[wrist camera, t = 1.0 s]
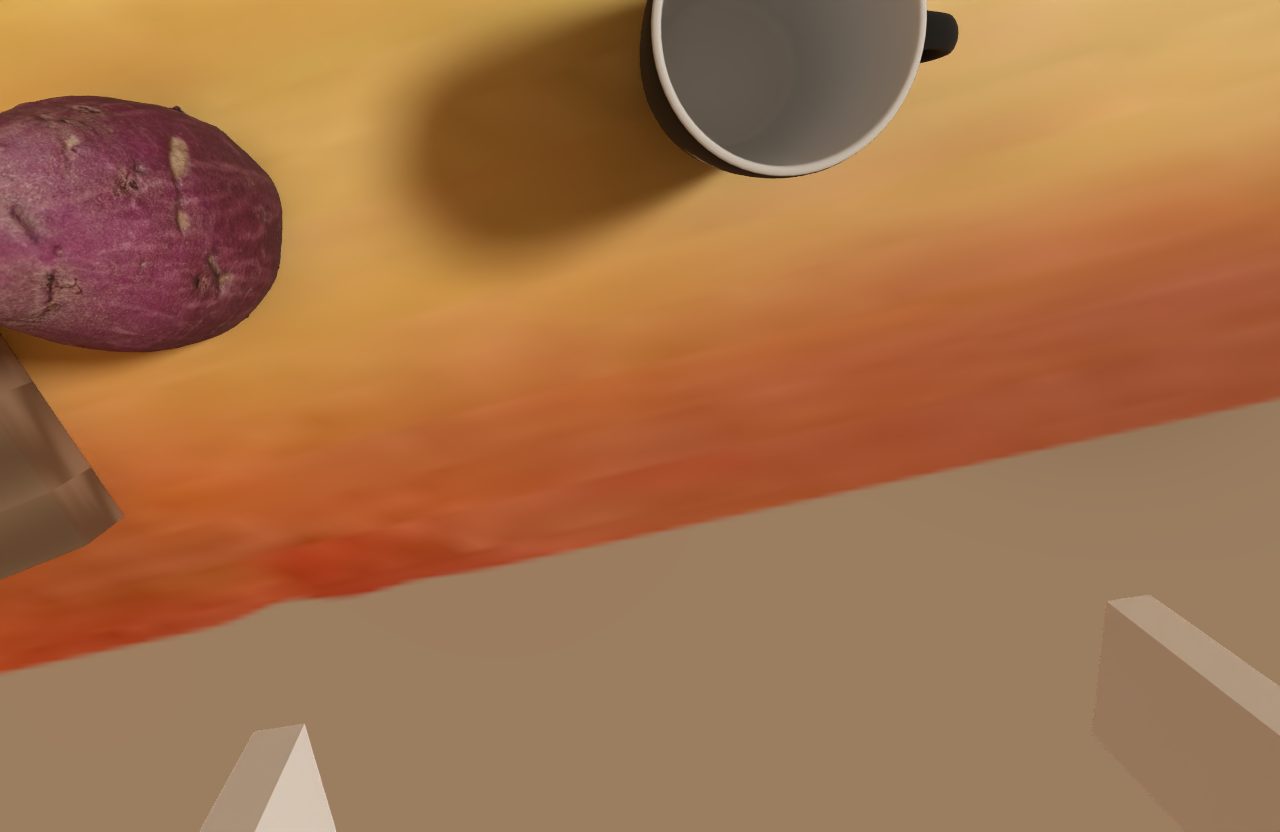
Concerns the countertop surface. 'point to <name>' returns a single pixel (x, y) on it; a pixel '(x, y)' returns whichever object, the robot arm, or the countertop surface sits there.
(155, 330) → the vegetable
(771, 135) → the mug
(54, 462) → the board
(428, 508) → the countertop surface
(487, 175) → the countertop surface
